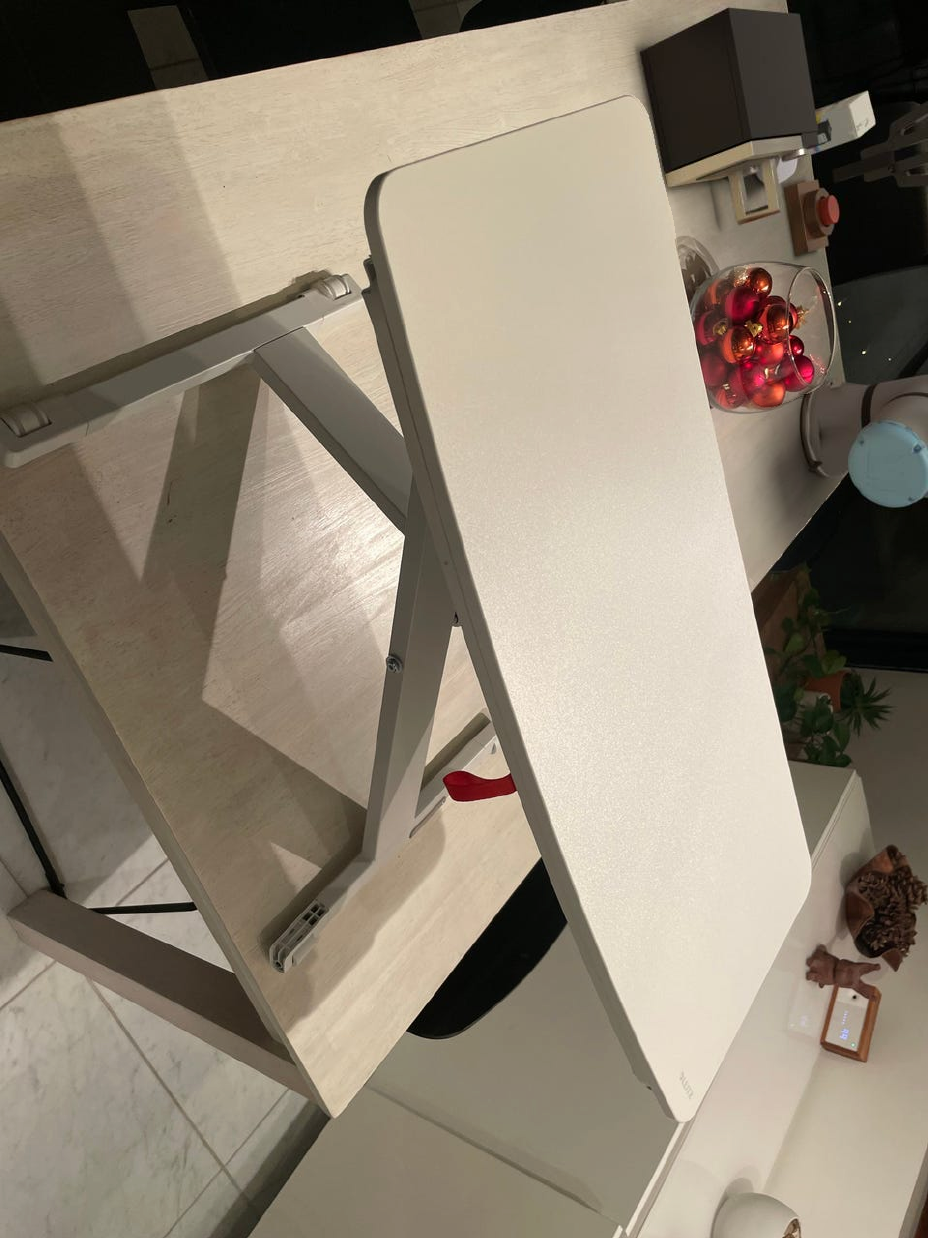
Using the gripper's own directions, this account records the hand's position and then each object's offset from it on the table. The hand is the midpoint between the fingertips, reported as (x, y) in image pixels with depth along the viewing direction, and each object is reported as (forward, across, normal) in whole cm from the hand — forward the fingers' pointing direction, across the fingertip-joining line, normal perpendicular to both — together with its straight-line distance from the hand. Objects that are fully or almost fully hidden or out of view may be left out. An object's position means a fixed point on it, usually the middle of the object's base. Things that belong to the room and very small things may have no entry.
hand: (837, 175), depth 120 cm
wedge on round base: (+16, -7, +13) cm, 22 cm away
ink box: (+16, -8, +24) cm, 30 cm away
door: (+16, -2, -7) cm, 17 cm away
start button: (+12, +3, +24) cm, 27 cm away
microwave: (+16, -12, -4) cm, 20 cm away
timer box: (+16, +4, +24) cm, 29 cm away
